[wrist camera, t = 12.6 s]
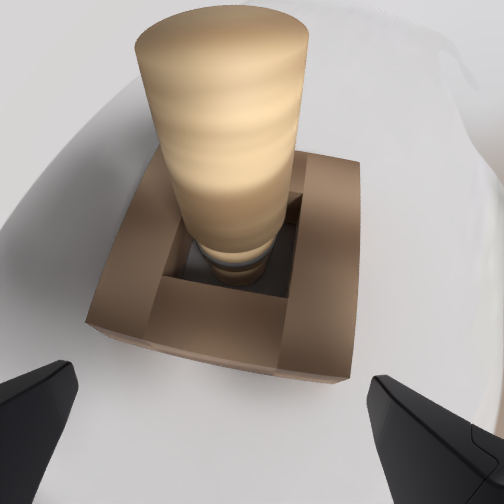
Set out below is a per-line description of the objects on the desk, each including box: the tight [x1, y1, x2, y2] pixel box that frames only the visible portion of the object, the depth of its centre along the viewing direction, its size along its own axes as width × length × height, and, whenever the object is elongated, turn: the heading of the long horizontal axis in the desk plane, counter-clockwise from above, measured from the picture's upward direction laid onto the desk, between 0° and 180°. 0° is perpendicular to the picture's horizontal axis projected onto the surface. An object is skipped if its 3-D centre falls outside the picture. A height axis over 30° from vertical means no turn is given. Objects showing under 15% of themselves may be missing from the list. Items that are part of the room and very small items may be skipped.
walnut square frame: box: [85, 144, 360, 384], centre depth 17 cm, size 12×12×3 cm
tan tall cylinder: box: [135, 5, 309, 286], centre depth 12 cm, size 4×4×13 cm
